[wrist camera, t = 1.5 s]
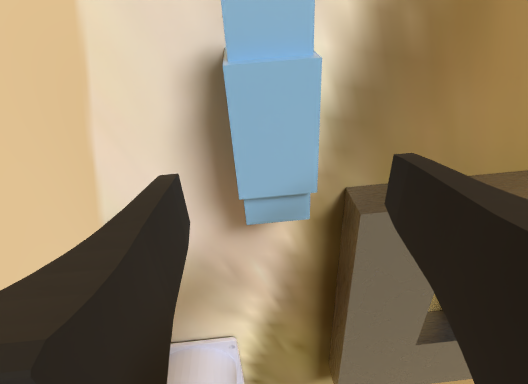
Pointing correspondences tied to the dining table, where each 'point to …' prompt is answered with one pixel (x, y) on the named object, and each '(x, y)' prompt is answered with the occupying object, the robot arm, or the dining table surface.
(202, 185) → the dining table surface
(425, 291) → the chassis
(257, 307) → the dining table surface
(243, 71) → the servo
